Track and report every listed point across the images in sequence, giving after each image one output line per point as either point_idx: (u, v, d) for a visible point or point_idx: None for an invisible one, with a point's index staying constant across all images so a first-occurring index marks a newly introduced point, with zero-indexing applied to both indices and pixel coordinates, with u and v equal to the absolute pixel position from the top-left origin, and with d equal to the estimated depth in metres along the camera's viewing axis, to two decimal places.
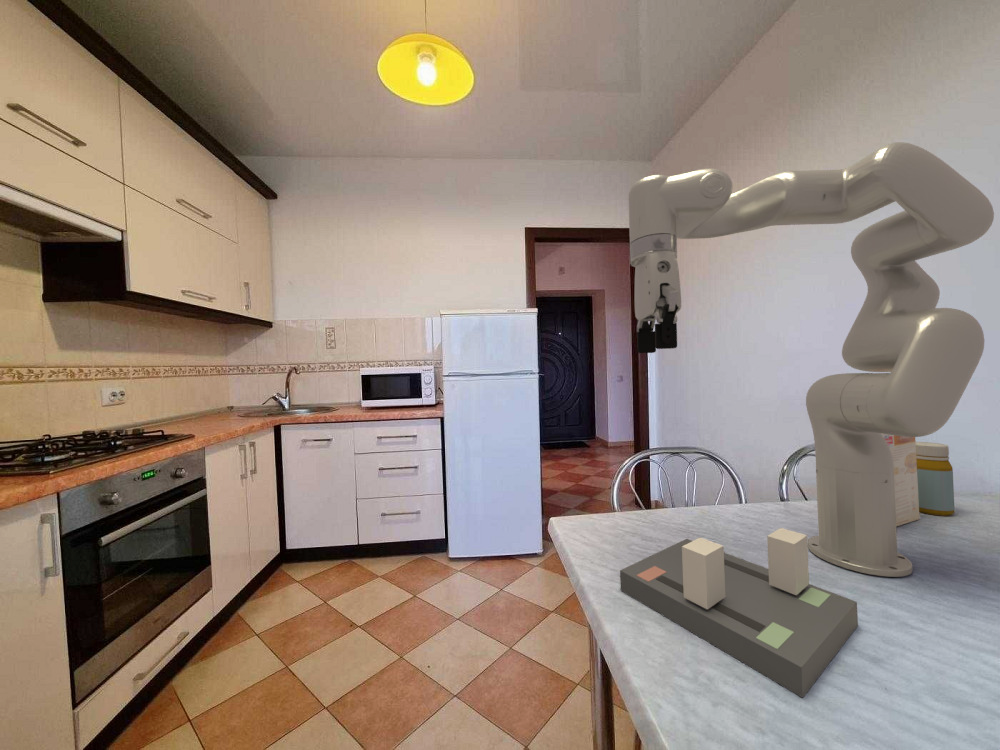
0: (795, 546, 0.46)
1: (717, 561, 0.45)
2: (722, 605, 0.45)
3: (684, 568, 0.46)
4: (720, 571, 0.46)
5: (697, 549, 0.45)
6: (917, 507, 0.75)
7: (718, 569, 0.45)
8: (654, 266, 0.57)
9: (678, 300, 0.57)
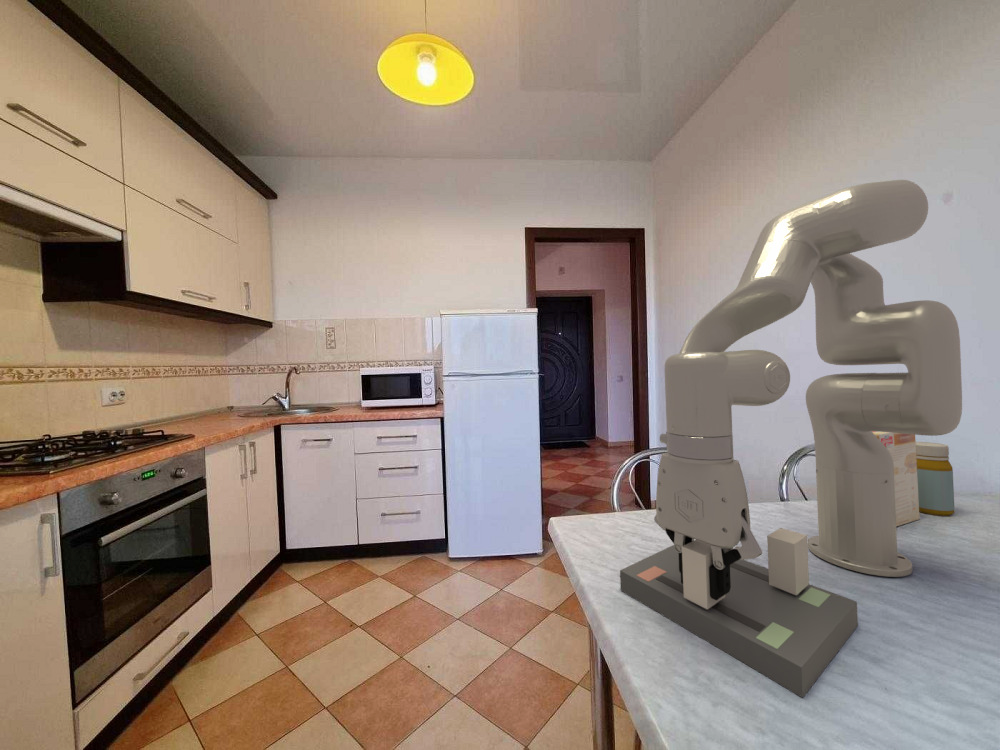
0: (795, 546, 0.46)
1: None
2: (722, 605, 0.45)
3: (684, 568, 0.46)
4: None
5: (697, 549, 0.45)
6: (917, 507, 0.75)
7: None
8: None
9: None
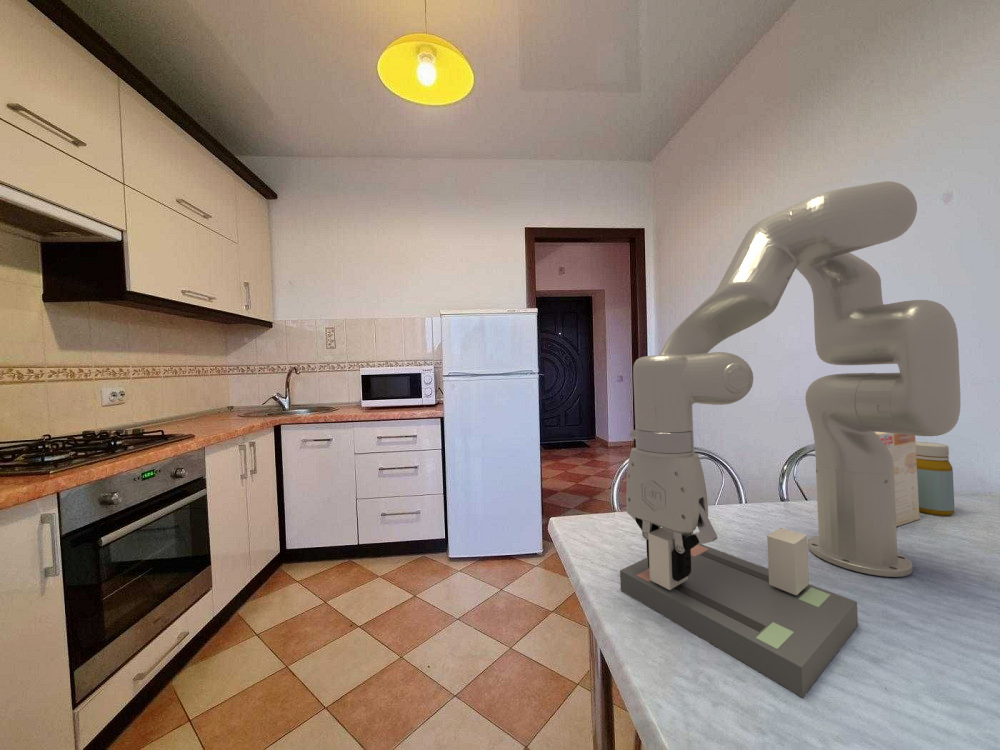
0: (795, 546, 0.46)
1: None
2: (722, 605, 0.45)
3: (650, 553, 0.50)
4: None
5: (661, 536, 0.49)
6: (917, 507, 0.75)
7: None
8: None
9: None
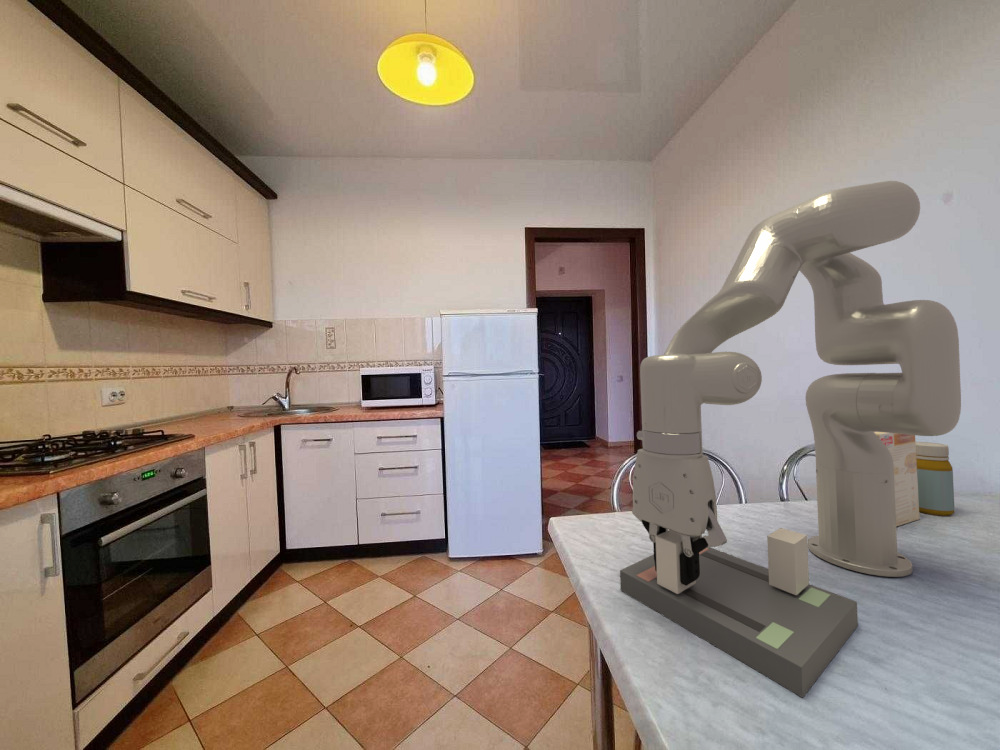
0: (795, 546, 0.46)
1: None
2: (722, 605, 0.45)
3: (657, 556, 0.49)
4: None
5: (669, 539, 0.49)
6: (917, 507, 0.75)
7: None
8: None
9: None
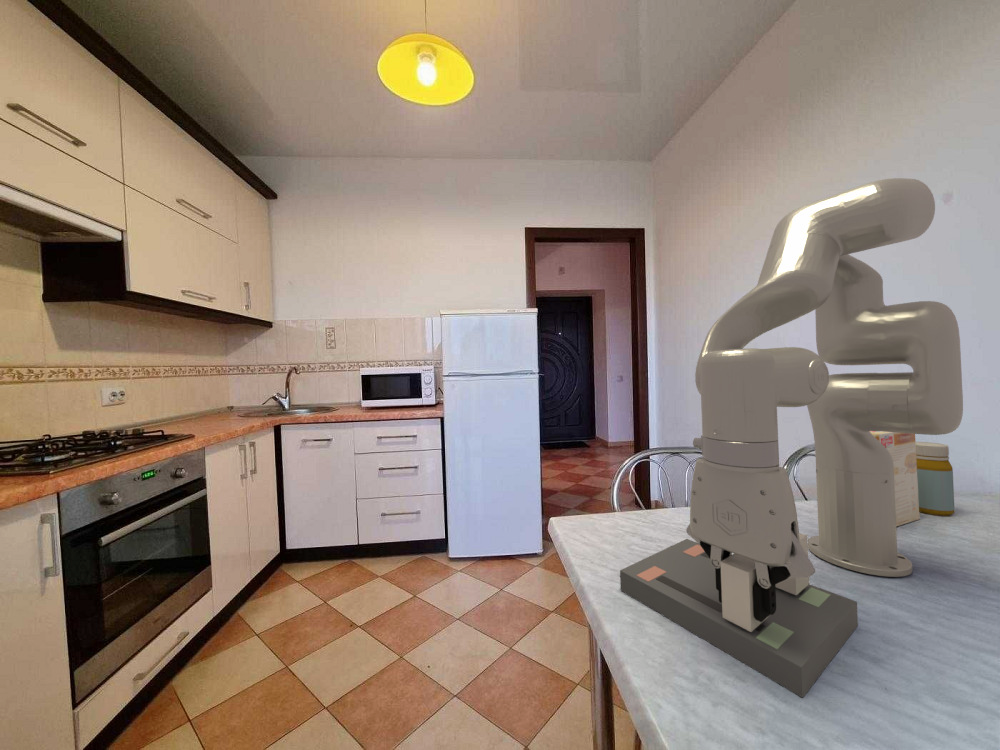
0: None
1: None
2: None
3: (723, 585, 0.42)
4: None
5: (738, 565, 0.41)
6: (917, 507, 0.75)
7: None
8: None
9: None
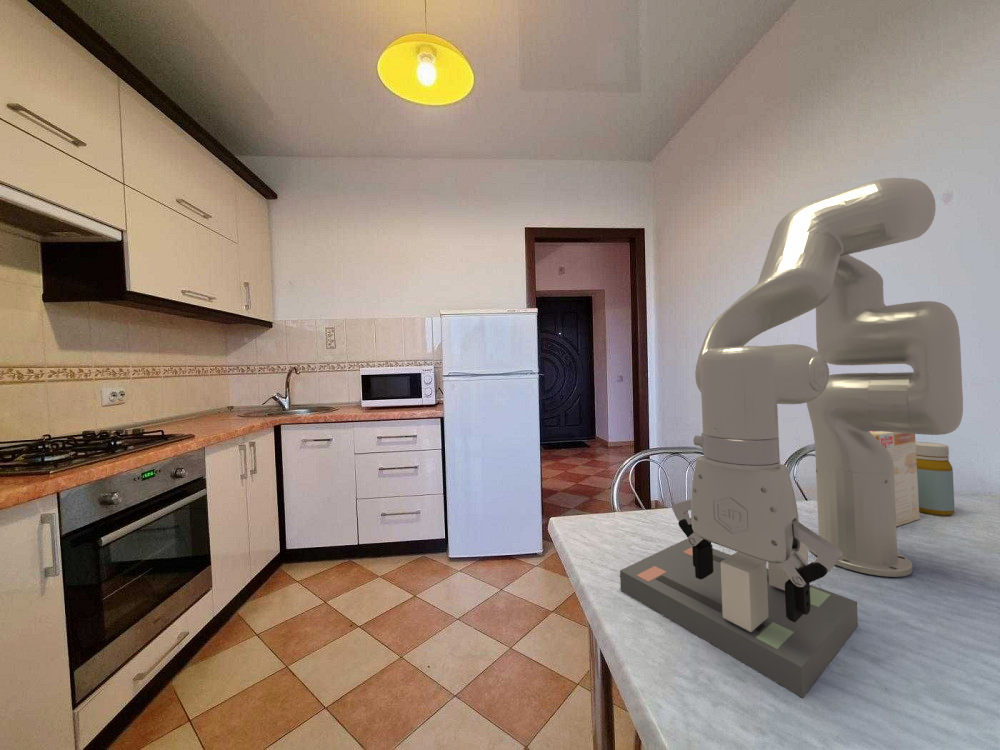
0: None
1: (761, 578, 0.41)
2: None
3: (723, 585, 0.42)
4: (763, 589, 0.42)
5: (738, 566, 0.41)
6: (917, 507, 0.75)
7: (761, 587, 0.41)
8: None
9: None
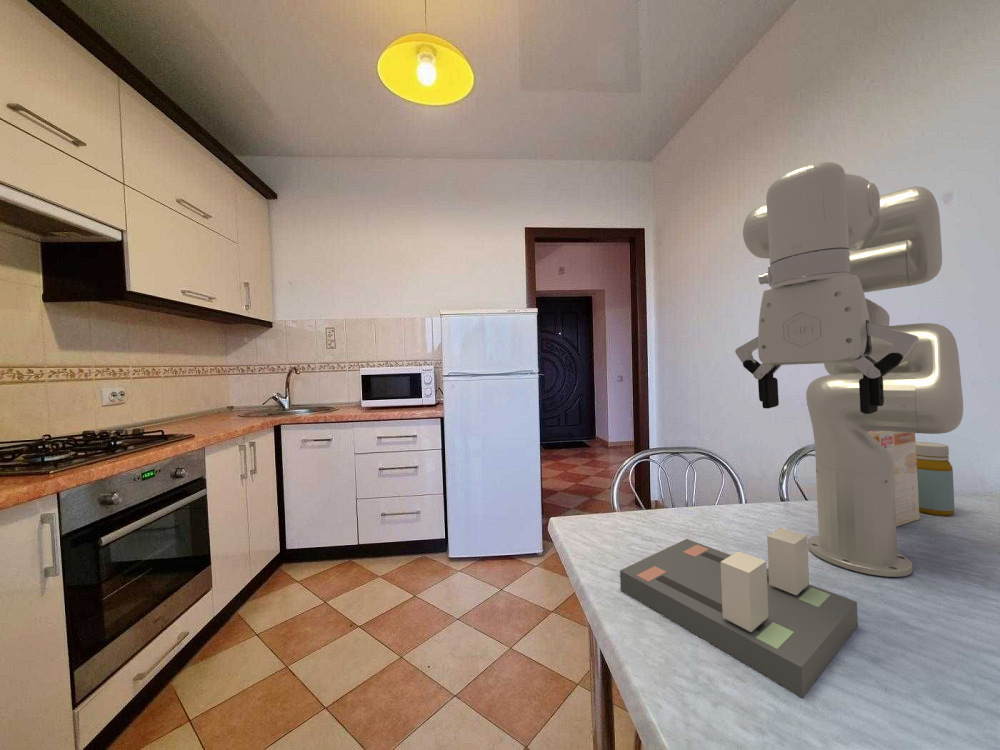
0: (795, 546, 0.46)
1: (761, 578, 0.41)
2: None
3: (723, 585, 0.42)
4: (763, 589, 0.42)
5: (738, 566, 0.41)
6: (917, 507, 0.75)
7: (761, 587, 0.41)
8: None
9: None
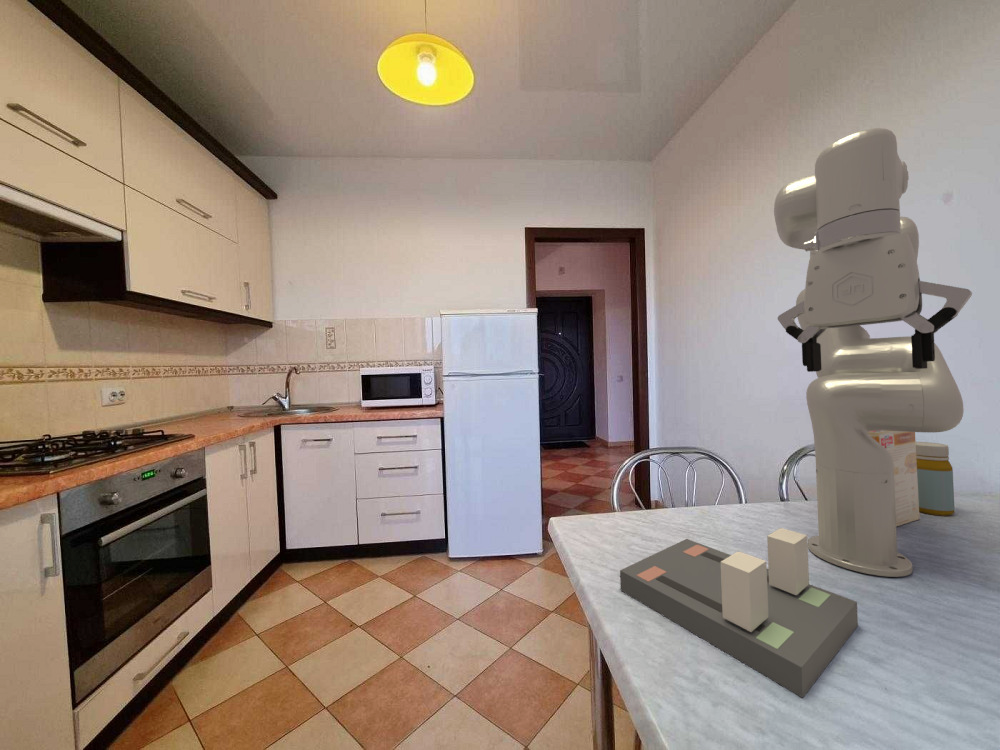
0: (795, 546, 0.46)
1: (761, 578, 0.41)
2: None
3: (723, 585, 0.42)
4: (763, 589, 0.42)
5: (738, 566, 0.41)
6: (917, 507, 0.75)
7: (761, 587, 0.41)
8: None
9: None
